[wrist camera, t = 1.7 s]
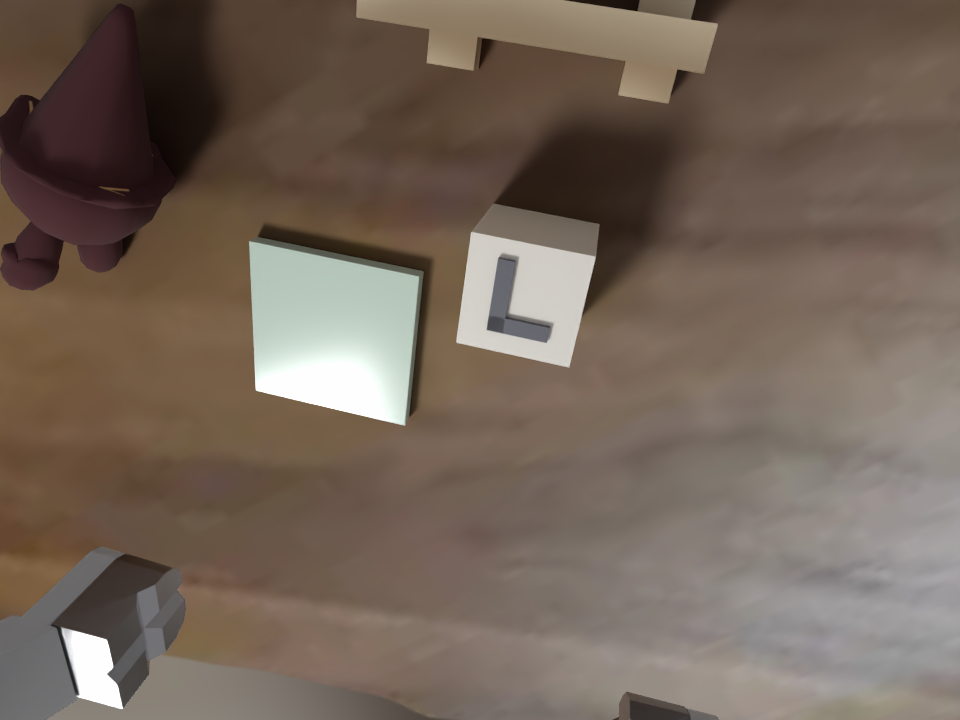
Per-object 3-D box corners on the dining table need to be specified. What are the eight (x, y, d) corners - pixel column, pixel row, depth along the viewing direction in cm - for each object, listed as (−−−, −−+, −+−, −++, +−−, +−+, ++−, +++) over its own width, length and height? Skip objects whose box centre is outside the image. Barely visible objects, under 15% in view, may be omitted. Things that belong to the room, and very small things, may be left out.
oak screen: (443, -49, 24) (360, -92, 17) (696, -11, 23) (736, -39, 15) (433, 62, 26) (354, 70, 18) (666, 101, 25) (688, 127, 17)
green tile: (257, 236, 32) (249, 241, 31) (423, 271, 31) (419, 276, 30) (262, 383, 36) (255, 390, 35) (408, 417, 35) (404, 425, 34)
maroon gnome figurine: (-37, -75, 21) (-60, 242, 30) (102, 62, 21) (39, 347, 29) (141, -37, 27) (80, 219, 35) (255, 71, 26) (165, 307, 35)
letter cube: (493, 203, 29) (470, 233, 24) (599, 223, 28) (595, 258, 24) (479, 300, 31) (455, 344, 27) (576, 321, 30) (568, 369, 26)
